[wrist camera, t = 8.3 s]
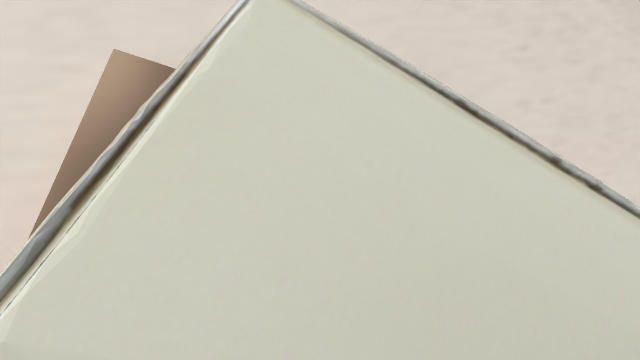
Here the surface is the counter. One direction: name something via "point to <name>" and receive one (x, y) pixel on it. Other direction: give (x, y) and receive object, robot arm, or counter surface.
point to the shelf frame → (106, 118)
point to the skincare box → (323, 221)
